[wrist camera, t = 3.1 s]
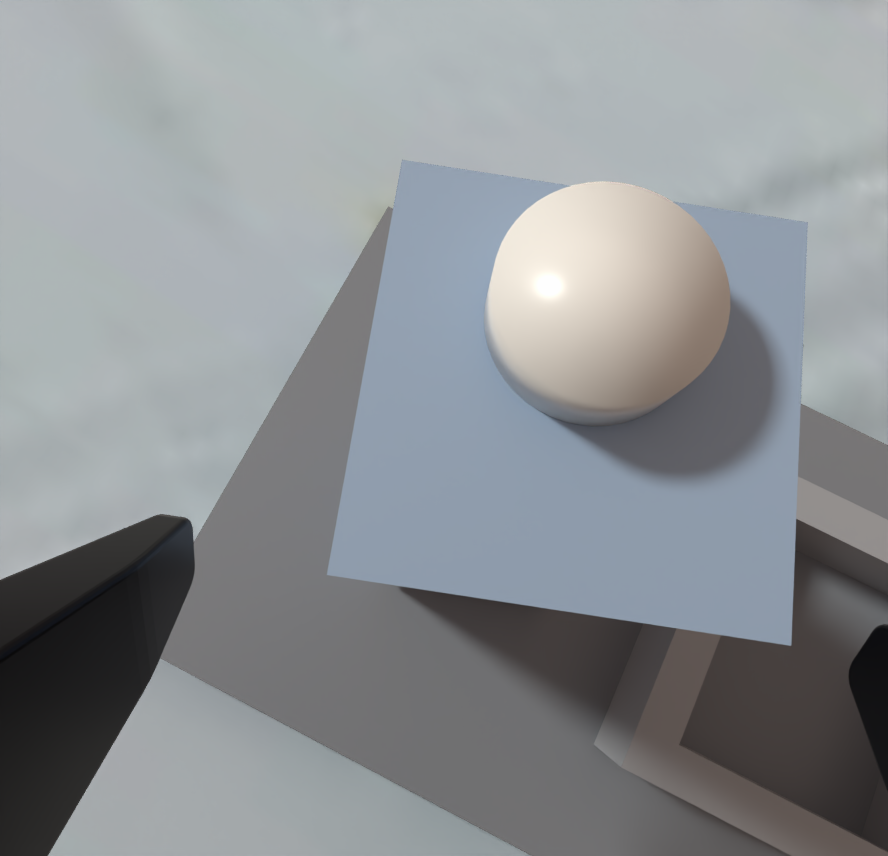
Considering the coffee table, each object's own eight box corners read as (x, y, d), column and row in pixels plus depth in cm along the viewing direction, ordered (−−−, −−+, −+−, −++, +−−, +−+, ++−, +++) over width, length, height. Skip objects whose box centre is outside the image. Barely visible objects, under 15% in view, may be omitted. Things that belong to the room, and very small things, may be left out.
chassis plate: (1047, 542, 21) (1175, 532, 18) (906, 1041, 18) (1027, 1151, 14) (389, 226, 22) (385, 158, 19) (151, 641, 19) (93, 652, 16)
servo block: (553, 606, 18) (840, 652, 6) (384, 580, 18) (314, 573, 6) (571, 441, 19) (852, 180, 7) (411, 417, 19) (400, 111, 7)
